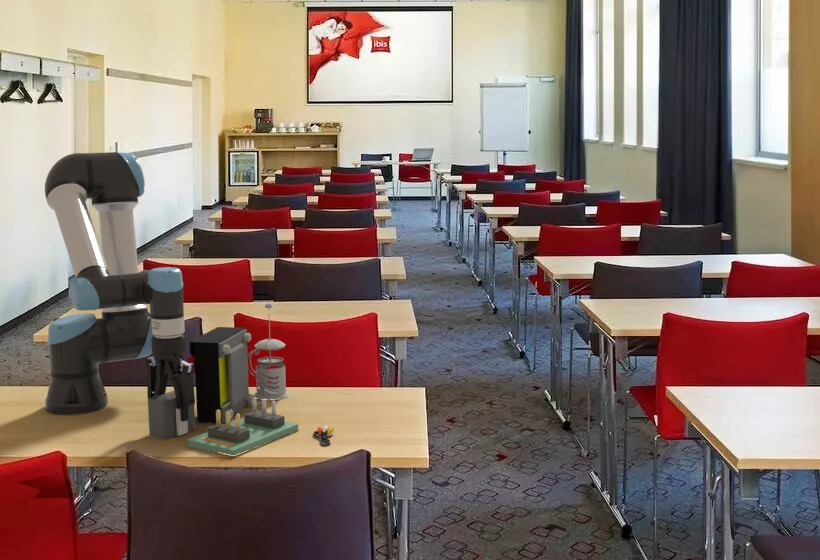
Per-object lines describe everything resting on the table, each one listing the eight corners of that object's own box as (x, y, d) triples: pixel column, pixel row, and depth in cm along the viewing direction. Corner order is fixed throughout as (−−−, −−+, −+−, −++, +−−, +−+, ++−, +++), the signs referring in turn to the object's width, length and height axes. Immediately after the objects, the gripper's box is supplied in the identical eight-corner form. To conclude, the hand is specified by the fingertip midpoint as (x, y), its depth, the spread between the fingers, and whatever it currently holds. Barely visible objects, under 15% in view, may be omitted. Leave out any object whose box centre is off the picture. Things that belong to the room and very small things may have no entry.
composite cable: (331, 447, 213) (330, 437, 213) (309, 447, 213) (309, 437, 213) (334, 433, 223) (334, 423, 223) (314, 433, 223) (313, 423, 223)
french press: (278, 402, 248) (276, 307, 244) (239, 397, 252) (236, 305, 248) (296, 392, 257) (294, 301, 253) (258, 388, 261) (255, 298, 257)
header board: (187, 445, 214) (185, 413, 213) (253, 420, 232) (252, 390, 231) (233, 457, 206) (232, 423, 205) (298, 429, 225) (297, 399, 223)
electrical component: (229, 424, 229) (226, 343, 226) (189, 422, 231) (186, 341, 228) (255, 403, 246) (252, 328, 243) (218, 401, 248) (215, 326, 245)
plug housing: (164, 439, 218) (162, 401, 217) (149, 436, 221) (147, 398, 219) (195, 428, 226) (193, 392, 225) (180, 425, 229) (178, 389, 227)
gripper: (127, 333, 222) (132, 429, 225) (185, 342, 211) (189, 442, 215) (152, 327, 228) (156, 420, 231) (209, 336, 218) (213, 433, 221)
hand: (172, 431), depth 223 cm, fingers open, 6 cm apart
